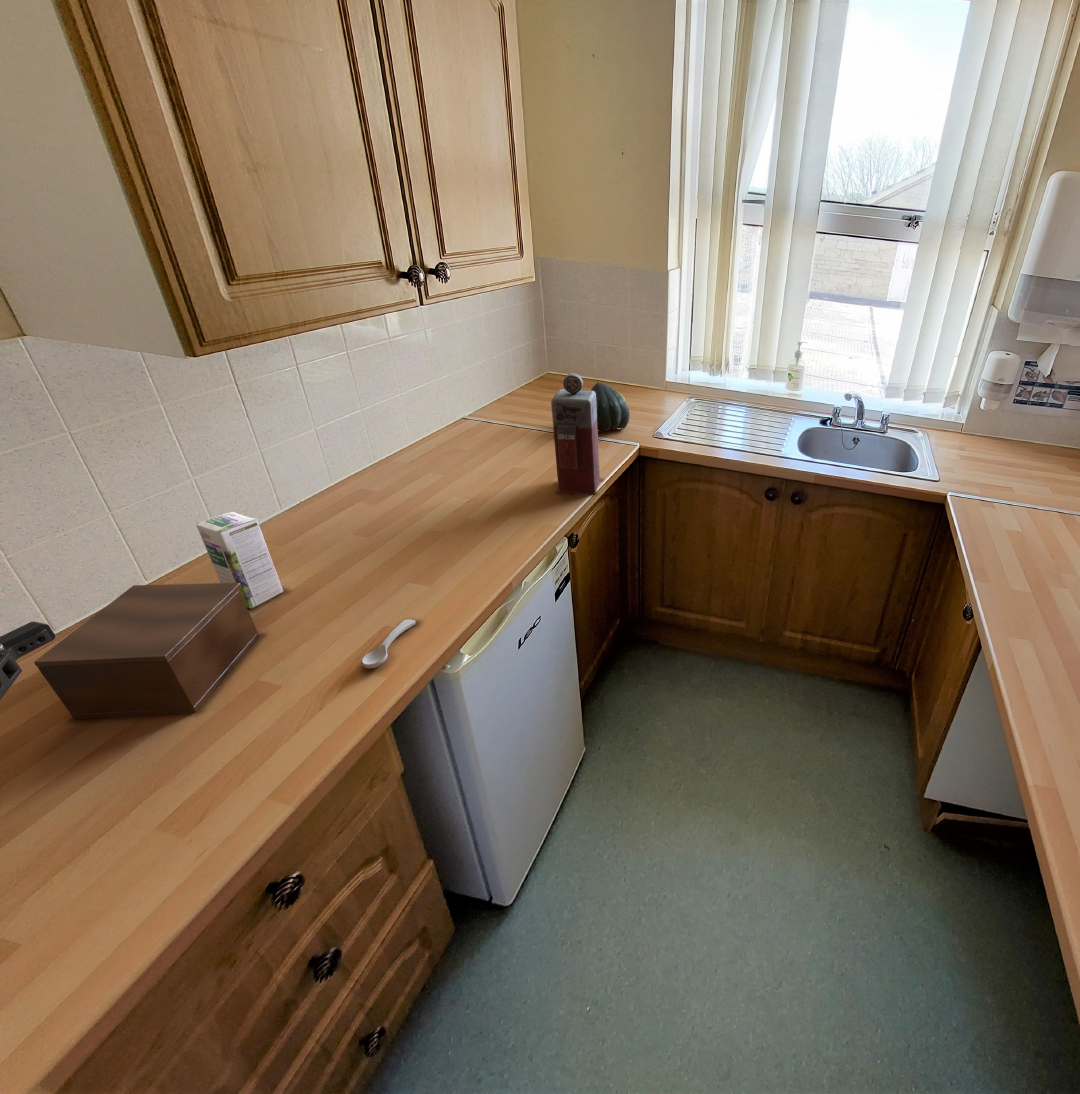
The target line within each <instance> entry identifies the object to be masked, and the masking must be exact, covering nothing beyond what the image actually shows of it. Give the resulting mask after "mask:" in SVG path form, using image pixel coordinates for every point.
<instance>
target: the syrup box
mask: <svg viewBox="0 0 1080 1094" xmlns="http://www.w3.org/2000/svg"><path fill="white" fill-rule="evenodd" d="M259 524H260V523H259V522H258V519H257V518H255V517H250V516H248V515H245V514H241V513H238V512H235V511H230V512H226V513H222V514H219V515H216V516H212V517H210V518H208V519H205V520H203V521H201V522H199V523H197V524H196V525H195V526H196V528H197V531H198V533H199V535H200V538H201V540H202V542H203V545H204V548H205V549H206V552H207V554H208V557H209V560H210V561H211V564H212V566H213V569H214V571H215V574H216V577H217V578H218V580H219V583H241V585H242V588H241V589H240V590H239V591H240V593H241V595H242V598H243V600H244V602H245V604H246V607H247V609H253V608H255V607H257V606H259V605H262V604H263V603H265V602H267V601H269V600H271V599H272V598H275V597H276V596H278V595H280V594H282V593H284V588H283V585H282V584H281V581H280V578H279V575H278V572H277V570H276V567H275V565H274V562H273V559H272V557H271V554H270V551H269V548H268V546H267V543H266V540H265V537H264V535H263V532H262V529H261V527H260V525H259Z"/></svg>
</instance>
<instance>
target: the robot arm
mask: <svg viewBox="0 0 1080 1094" xmlns="http://www.w3.org/2000/svg"><path fill="white" fill-rule="evenodd" d="M55 639H56V634H55V632H54V631H53V629H52V628H51V626H50V625H49V624H48V623H44V622H38V621H30V622H28V623H26V624H23V625H21V626H19V627H17V628H14V629H13V630H11V631H9V632H7V633H4V634H3V635H0V701H1V700H2V699H3V698H4V696H5V695H6V694H7V693H8V691H9V690H10V688H11V687H12V686H13V684H14V683H15V681H16V680H17V679H18V677H19V676H20V675H21V673H23V669H22V668H21V667H20V665H19V664H18V662H17V660H18V659H20V658H21V657H24V656H26V655H28V654H29V653H31V652H33V651H35V650H37V649H39V648H41V647H43V646H45V645H47V644H49V643H50V642H53V641H54V640H55Z"/></svg>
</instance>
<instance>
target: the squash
mask: <svg viewBox="0 0 1080 1094" xmlns="http://www.w3.org/2000/svg"><path fill="white" fill-rule="evenodd" d="M589 390H590V391H594V392H595V393H596V407H597V430H599V431H598V433H599V432H600V433H602V432H604V431H610V430H611V429H612V430H614V431H622V430H624V429H625V428H626V427H627V426H628V424H629V422H630V417H631V416H630V407H629V404H628V401H627V400H626V398H625V397H624V395H623V393H621V392H619V391H618V390H616V389H615V388H614V387H612V386H610V385H608V384H606V383H604V382H600V381H598V382H596V383H595V384H594V385H593V386H592V388H590V389H589ZM617 428H623V429H617Z"/></svg>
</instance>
